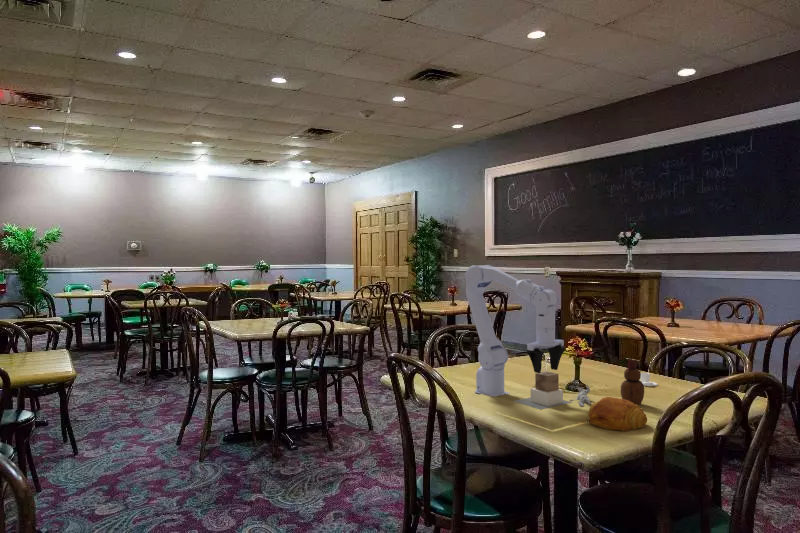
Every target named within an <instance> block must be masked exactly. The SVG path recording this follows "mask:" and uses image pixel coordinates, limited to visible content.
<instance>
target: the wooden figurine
mask: <svg viewBox="0 0 800 533" xmlns="http://www.w3.org/2000/svg"><path fill="white" fill-rule="evenodd" d="M627 358H628V360H627V368H626V369H625V370H624V371H623V377H624V379H625V380H623V381H622V382H621V385H620V395H621V396H620V397H621V399H625V400H628V401H631V402H632V403H634V404H636V405H638V406H639V405H641V404H642V402H643V401H644V400H643V399H644V397H645V386H644V385H643V383H642V382H641V373H642V372H641V371H640V369H639V368H637V364H636V362H635V361H634V360H633V357H631V358H630V356H628V357H627Z"/></svg>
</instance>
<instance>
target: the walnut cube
mask: <svg viewBox="0 0 800 533" xmlns="http://www.w3.org/2000/svg"><path fill="white" fill-rule="evenodd" d="M534 373H535V380H534V381H535V382H534V383H535V384H534V385H535V387H534V388H535V389H537V390H541V391H545V392H550V391H555V390H559V389H560V388H559V380H560V378H559V376H560V375H559V373H556V372H550V371H547V370H546V371H541V373H536V372H534Z"/></svg>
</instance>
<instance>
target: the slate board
mask: <svg viewBox="0 0 800 533" xmlns="http://www.w3.org/2000/svg"><path fill="white" fill-rule="evenodd" d="M512 402H513V403H517V404H521V405H524V406H526V407H530V408H534V409H537V410H541V411H542V410H546V409H549V408H555V407H559V406H562V405H567V404H571V403H573V402H572V401H570V400H569V401H568V400H564V399H563V403H559V404H554V405H550V406H546V405H542V404H538V403H535V402H531V396H530V397H526V398H519V399H517V400H513V401H512Z"/></svg>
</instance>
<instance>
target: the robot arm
mask: <svg viewBox="0 0 800 533" xmlns="http://www.w3.org/2000/svg"><path fill="white" fill-rule="evenodd" d="M463 276H464V279H465V282H466V283H465V295H466V300H467V302H468V305H469V308H470V312H471V315H472V319H473V322H474V324H475V325H474V326H475V328H476V332H477V334H478V338H479V344H478V346H477V352H478V357H477V358H478V363H479V365H480V366H479V368H478V369H477V370H476V373H475V374H476V375H475V379H476V380H475V382H476V383H475V385H476V388H475V389H476V390H474V393H476V394H479V395H486V396H490V397H492V398H493V397H498V396H503V395H508V394H510V392H507V391H505V366H506V363H507V362H508V360H509V354H508V351H507V349H506V348H505V347H504V346H503V342H502V341H501V340H500V339H498V338H497V337H496V333H495V330H494V326H493V324H492V323H493V322H492V320H491V317H490V314H489V311H488V307H487V304H486V301H485V297H484V292H485V290H486V289H487V288H488V287H489V286H490V285H491V284H492V283H493V282H496V283H499V284H501V285H504V286H506V287H508V288H510V289H513V290H514V291H515V294H516V295H517V296H519V297H520V298H522V299H524V300H526V301H528V302H530V303H532V304H533V306H534V307H535V312H536V313H535V314H536V315H535V316H536V317H535V318H536V320H535V322H536V326H535V327H536V328H535V329H536V333H535V334H536V339H535V340H536V341H533V342H530V343H529V342H528V343H527V344H526V346H527V347H526V354H527V355H528V357H529V358H530V361H531V365H532V367H533V368H532V369H533V372H534V373H541V372H542V363H543V361H542V360H543V357H544V354H545V351H541V350H542V349H547V351H548V355H549V362H550V363H549V364H550V370H553V371H558V369H559V364H560V362H561V358H562V356H563V354H564V352H565V349H566V348H565V347H564V346H565V340H564V339H556V305H557V304H558V303H559V297H558V293H557V292H555V291H554V290H553V289H552V288H547V289H545V286H543V285H538V284H536V283H534V282H532V281H533V280H531V279H530V278H527V279H526V278H525V279H520V280H519V279H517V278H515V277H513V276H512V275H510V274H508V273H507V272H505V271H503V270H501V269H499V268H498V267H496V266H493V265H492V264H485V265H480V264H479V265H475V264H473V265H471V266H469V267H468V268H467V270H466V271H465V273H464V275H463Z"/></svg>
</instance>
